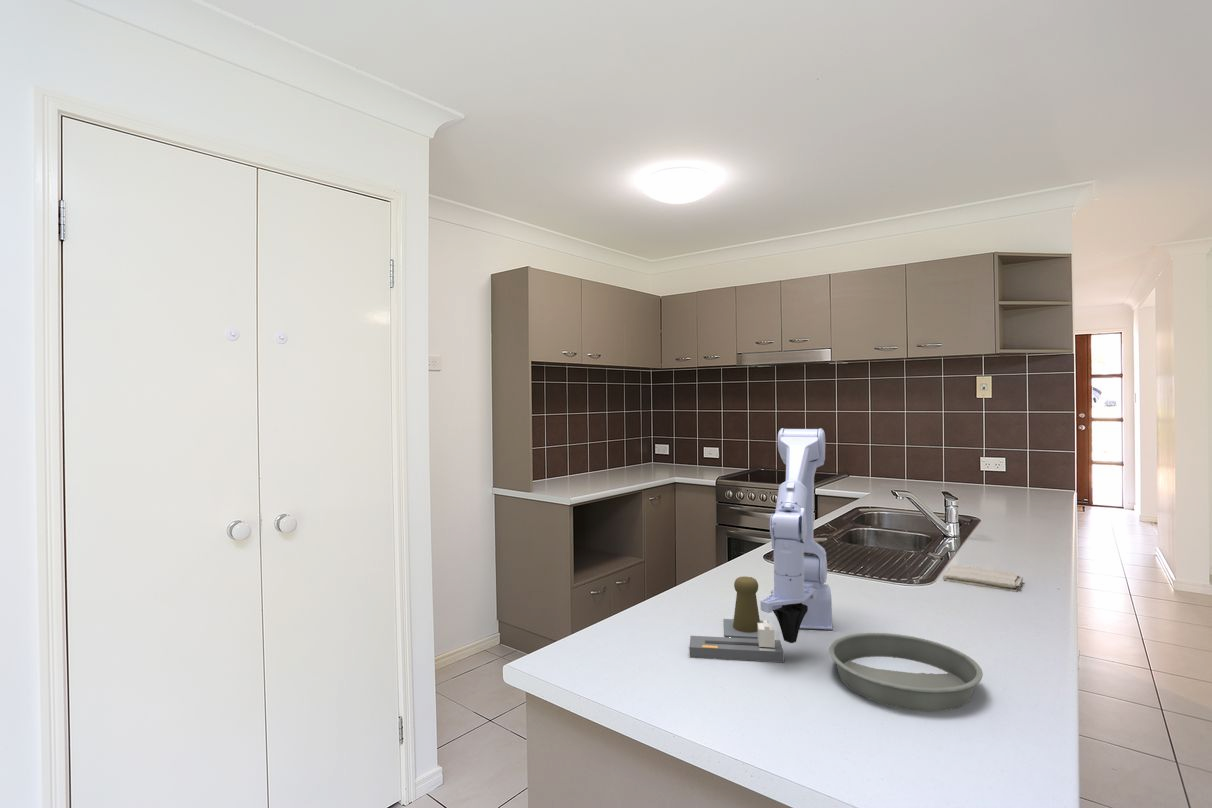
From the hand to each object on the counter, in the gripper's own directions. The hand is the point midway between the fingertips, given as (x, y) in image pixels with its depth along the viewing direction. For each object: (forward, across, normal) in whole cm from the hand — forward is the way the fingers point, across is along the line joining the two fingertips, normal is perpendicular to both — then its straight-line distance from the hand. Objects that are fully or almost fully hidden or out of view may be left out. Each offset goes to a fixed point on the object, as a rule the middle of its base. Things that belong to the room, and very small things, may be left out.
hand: (789, 641), depth 120 cm
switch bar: (+3, +8, -7) cm, 11 cm away
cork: (+3, -4, -15) cm, 16 cm away
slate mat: (+3, -4, -15) cm, 15 cm away
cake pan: (+3, -8, +19) cm, 20 cm away
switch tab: (+1, +3, -3) cm, 5 cm away
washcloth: (+4, -82, -1) cm, 82 cm away
